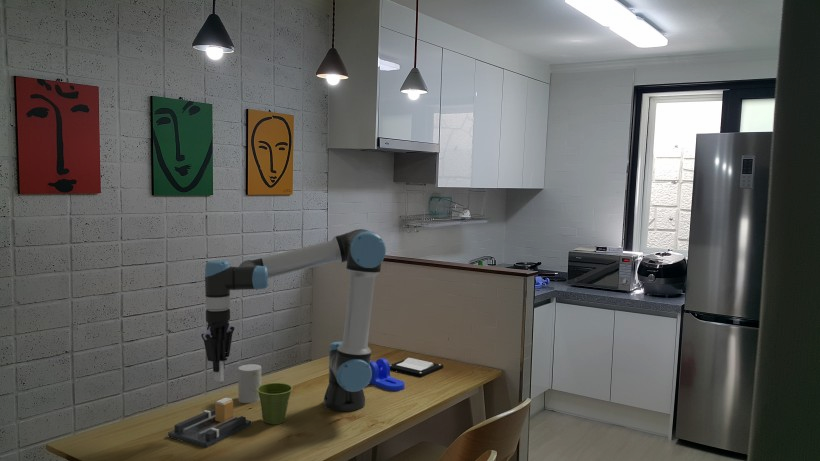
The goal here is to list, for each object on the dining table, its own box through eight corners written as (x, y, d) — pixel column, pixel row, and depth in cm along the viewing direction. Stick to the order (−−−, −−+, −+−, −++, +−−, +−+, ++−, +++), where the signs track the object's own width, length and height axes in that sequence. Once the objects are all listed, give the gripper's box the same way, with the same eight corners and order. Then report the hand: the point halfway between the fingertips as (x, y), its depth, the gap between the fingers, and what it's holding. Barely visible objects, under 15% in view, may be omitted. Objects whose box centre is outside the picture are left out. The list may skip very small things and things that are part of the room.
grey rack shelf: (246, 422, 201) (246, 416, 201) (210, 440, 187) (210, 433, 186) (210, 414, 208) (210, 407, 208) (173, 430, 193) (173, 423, 193)
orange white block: (233, 418, 204) (233, 399, 203) (224, 423, 200) (224, 403, 199) (224, 416, 205) (224, 397, 205) (214, 420, 202) (214, 401, 201)
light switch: (443, 361, 273) (421, 370, 258) (443, 369, 273) (421, 378, 258) (409, 354, 283) (386, 362, 268) (409, 361, 283) (385, 370, 269)
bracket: (363, 381, 251) (363, 360, 251) (378, 377, 257) (379, 356, 256) (393, 393, 239) (394, 370, 238) (408, 388, 244) (409, 366, 244)
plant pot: (274, 430, 199) (275, 396, 198) (248, 422, 205) (249, 389, 205) (299, 419, 209) (300, 386, 208) (274, 411, 215) (274, 380, 215)
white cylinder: (255, 404, 222) (255, 371, 222) (234, 401, 224) (234, 369, 223) (264, 396, 230) (265, 365, 230) (244, 394, 232) (244, 363, 231)
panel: (251, 425, 203) (251, 417, 203) (206, 447, 185) (206, 439, 185) (214, 416, 210) (214, 408, 210) (168, 437, 192) (168, 428, 192)
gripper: (222, 304, 204) (224, 373, 206) (194, 311, 193) (195, 385, 194) (240, 306, 201) (241, 376, 203) (212, 313, 190) (213, 388, 191)
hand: (219, 380), depth 199 cm, fingers closed
